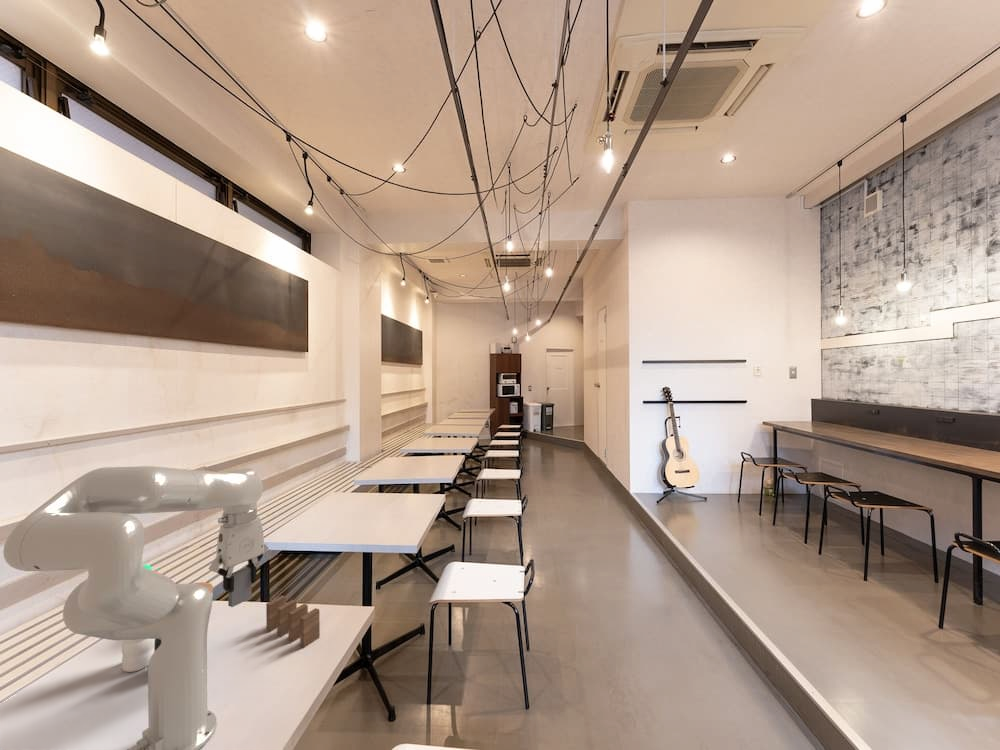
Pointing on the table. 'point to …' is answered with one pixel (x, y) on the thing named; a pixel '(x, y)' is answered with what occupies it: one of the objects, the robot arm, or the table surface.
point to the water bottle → (137, 651)
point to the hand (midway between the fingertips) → (240, 585)
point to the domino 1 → (241, 587)
